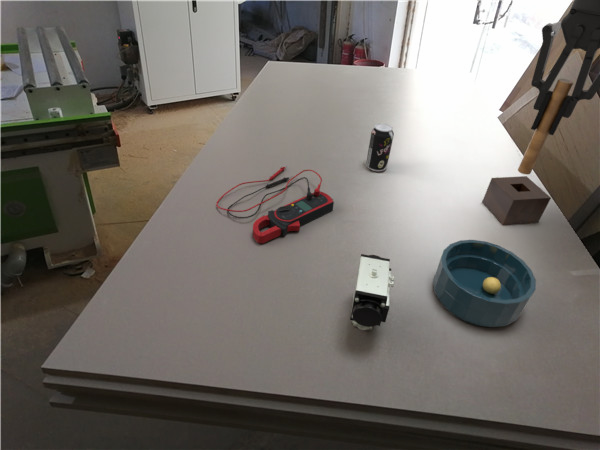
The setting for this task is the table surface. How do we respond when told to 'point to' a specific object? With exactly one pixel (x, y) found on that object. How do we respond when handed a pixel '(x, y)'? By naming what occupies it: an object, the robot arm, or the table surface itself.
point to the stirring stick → (545, 125)
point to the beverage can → (379, 147)
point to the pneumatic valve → (371, 292)
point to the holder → (515, 200)
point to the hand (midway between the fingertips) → (543, 129)
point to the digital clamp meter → (287, 210)
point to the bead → (491, 285)
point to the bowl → (469, 283)
